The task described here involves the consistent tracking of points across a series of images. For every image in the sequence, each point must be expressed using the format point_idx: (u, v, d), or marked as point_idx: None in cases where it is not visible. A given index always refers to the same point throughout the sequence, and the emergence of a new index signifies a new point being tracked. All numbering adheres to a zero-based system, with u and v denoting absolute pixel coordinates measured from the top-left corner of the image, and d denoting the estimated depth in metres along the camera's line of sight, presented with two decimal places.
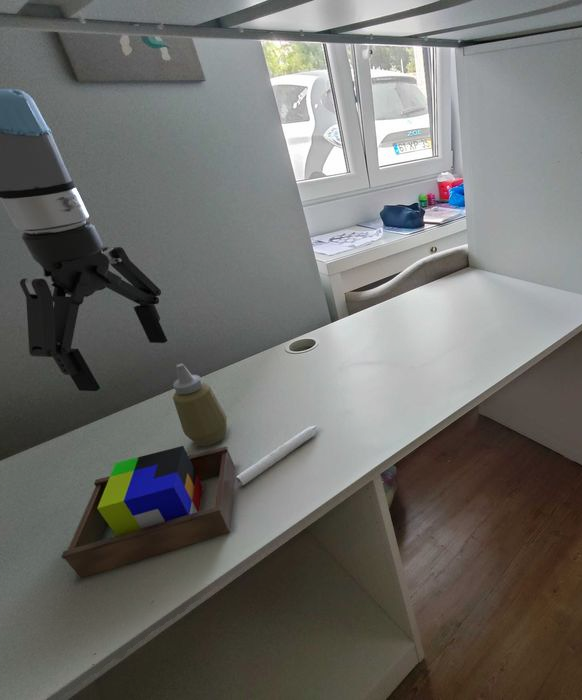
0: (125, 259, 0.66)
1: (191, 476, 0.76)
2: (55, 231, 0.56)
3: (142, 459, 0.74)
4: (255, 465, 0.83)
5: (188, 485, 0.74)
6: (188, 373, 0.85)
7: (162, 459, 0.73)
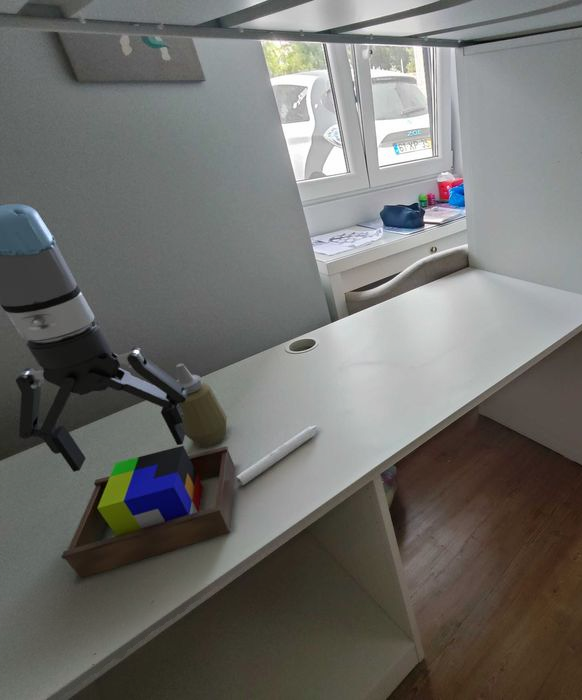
0: (137, 366, 0.62)
1: (191, 476, 0.76)
2: (33, 341, 0.55)
3: (142, 459, 0.74)
4: (255, 465, 0.83)
5: (188, 485, 0.74)
6: (188, 373, 0.85)
7: (162, 459, 0.73)
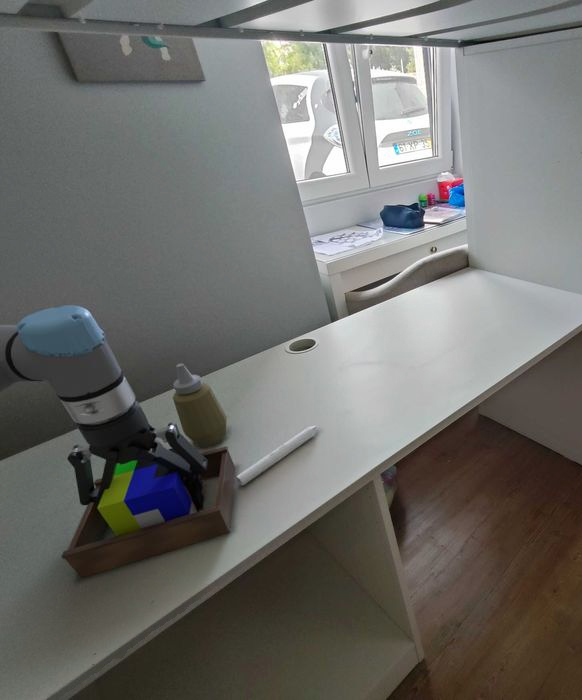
0: (172, 441, 0.69)
1: None
2: (83, 423, 0.62)
3: (142, 459, 0.74)
4: (255, 465, 0.83)
5: None
6: (188, 373, 0.85)
7: None
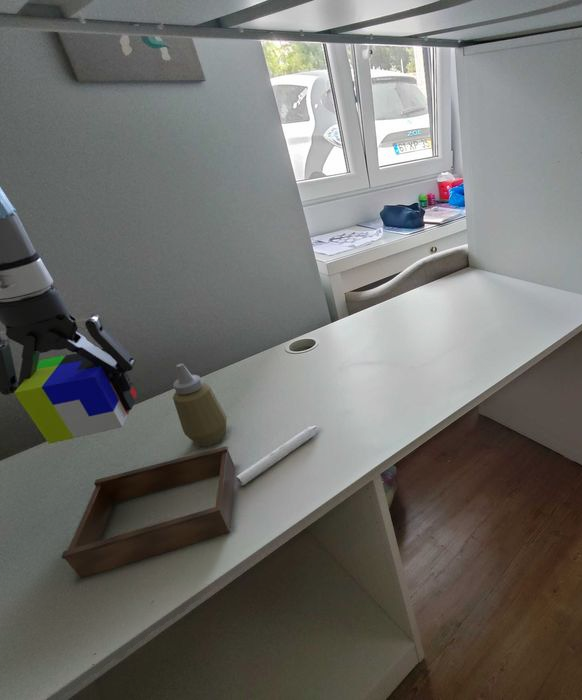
0: (93, 331, 0.68)
1: None
2: None
3: (69, 357, 0.73)
4: (255, 465, 0.82)
5: None
6: (188, 373, 0.85)
7: None
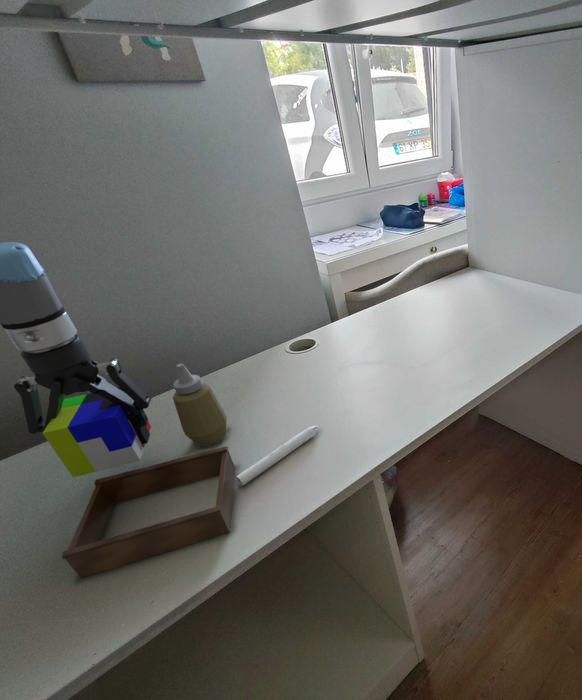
0: (113, 375, 0.75)
1: None
2: (26, 352, 0.68)
3: (89, 396, 0.80)
4: (255, 465, 0.82)
5: None
6: (188, 373, 0.85)
7: None
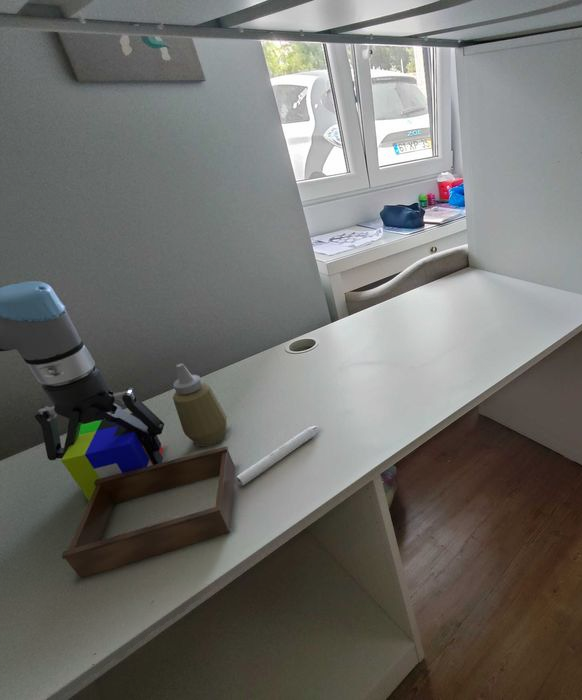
0: (129, 404, 0.78)
1: None
2: (47, 385, 0.71)
3: (105, 421, 0.83)
4: (255, 465, 0.82)
5: None
6: (188, 373, 0.85)
7: None
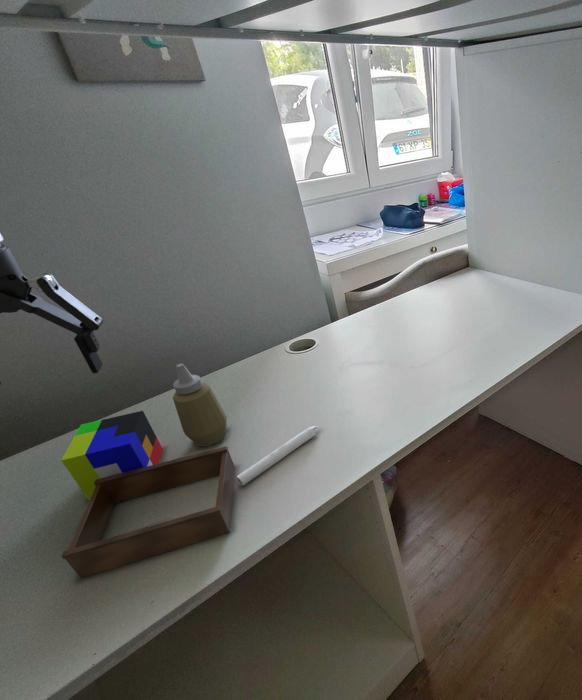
0: (47, 290, 0.65)
1: (149, 438, 0.85)
2: None
3: (105, 421, 0.83)
4: (255, 465, 0.82)
5: (146, 445, 0.83)
6: (188, 373, 0.85)
7: (122, 422, 0.82)
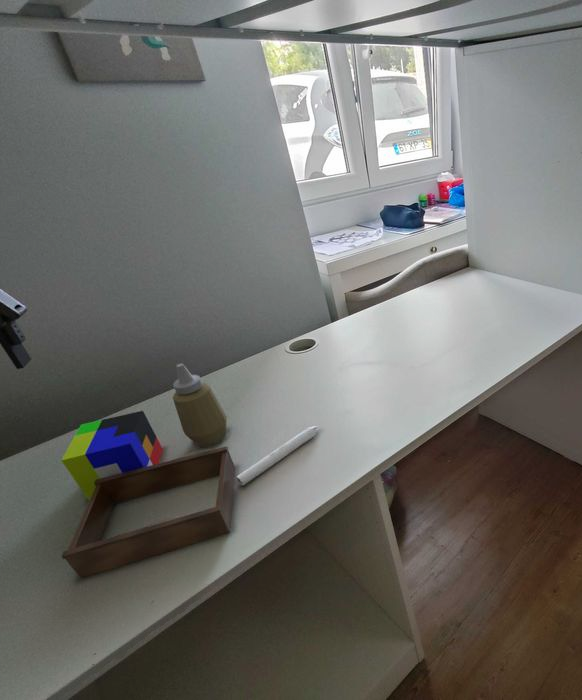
0: None
1: (149, 438, 0.85)
2: None
3: (105, 421, 0.83)
4: (255, 465, 0.82)
5: (146, 445, 0.83)
6: (188, 373, 0.85)
7: (122, 422, 0.82)
